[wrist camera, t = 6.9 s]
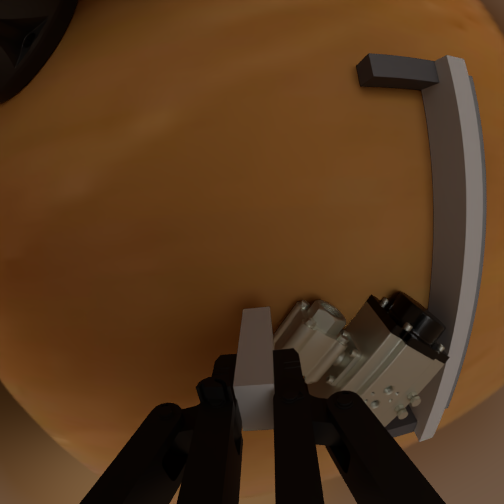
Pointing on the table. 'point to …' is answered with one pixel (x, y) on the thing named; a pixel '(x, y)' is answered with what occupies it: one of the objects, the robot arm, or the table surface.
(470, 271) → the curved pull handle
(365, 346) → the pneumatic valve
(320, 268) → the table surface
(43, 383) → the table surface
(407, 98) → the table surface
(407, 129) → the table surface
